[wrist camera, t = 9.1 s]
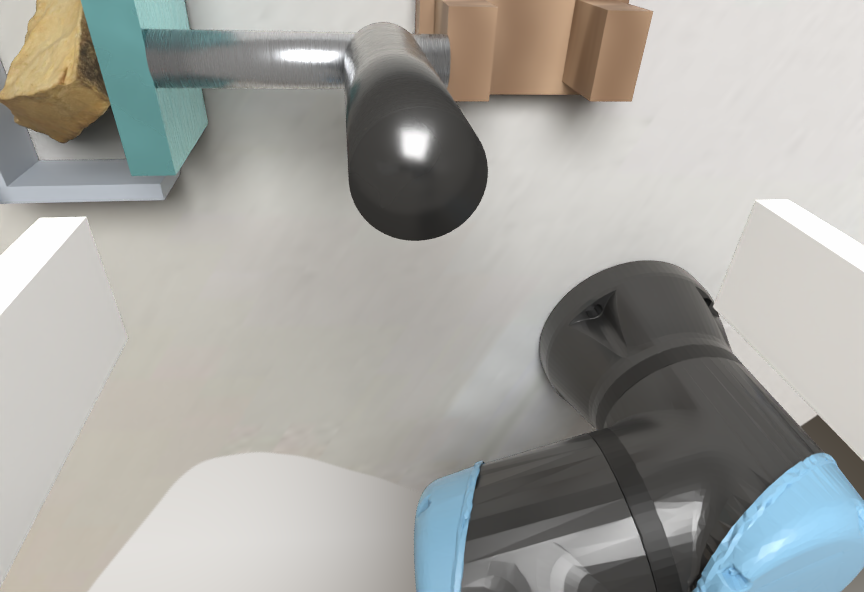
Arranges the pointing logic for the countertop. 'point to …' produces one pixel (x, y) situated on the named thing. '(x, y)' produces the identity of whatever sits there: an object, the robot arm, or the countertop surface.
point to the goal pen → (66, 173)
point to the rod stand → (539, 46)
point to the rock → (56, 74)
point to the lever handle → (300, 69)
